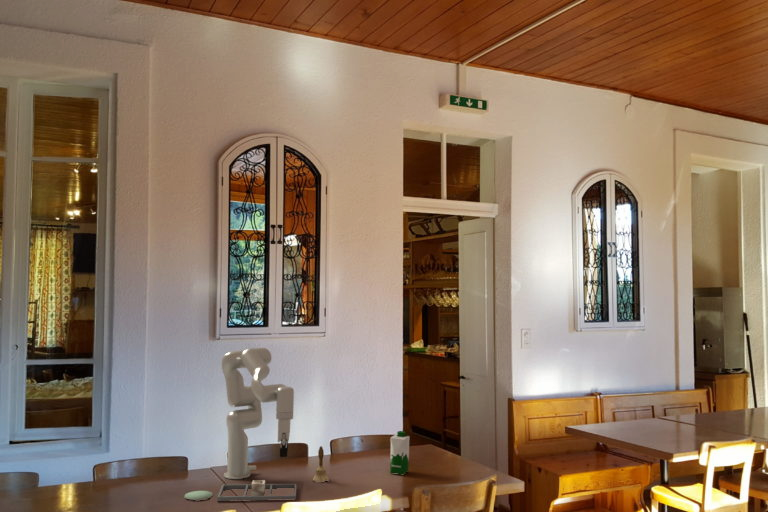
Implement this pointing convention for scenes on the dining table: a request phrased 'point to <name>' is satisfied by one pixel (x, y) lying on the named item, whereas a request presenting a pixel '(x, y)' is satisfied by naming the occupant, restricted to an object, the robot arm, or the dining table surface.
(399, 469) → the milk carton
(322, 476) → the hand bell
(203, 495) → the mat
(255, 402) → the robot arm
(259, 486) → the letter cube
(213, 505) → the dining table surface
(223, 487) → the organiser
